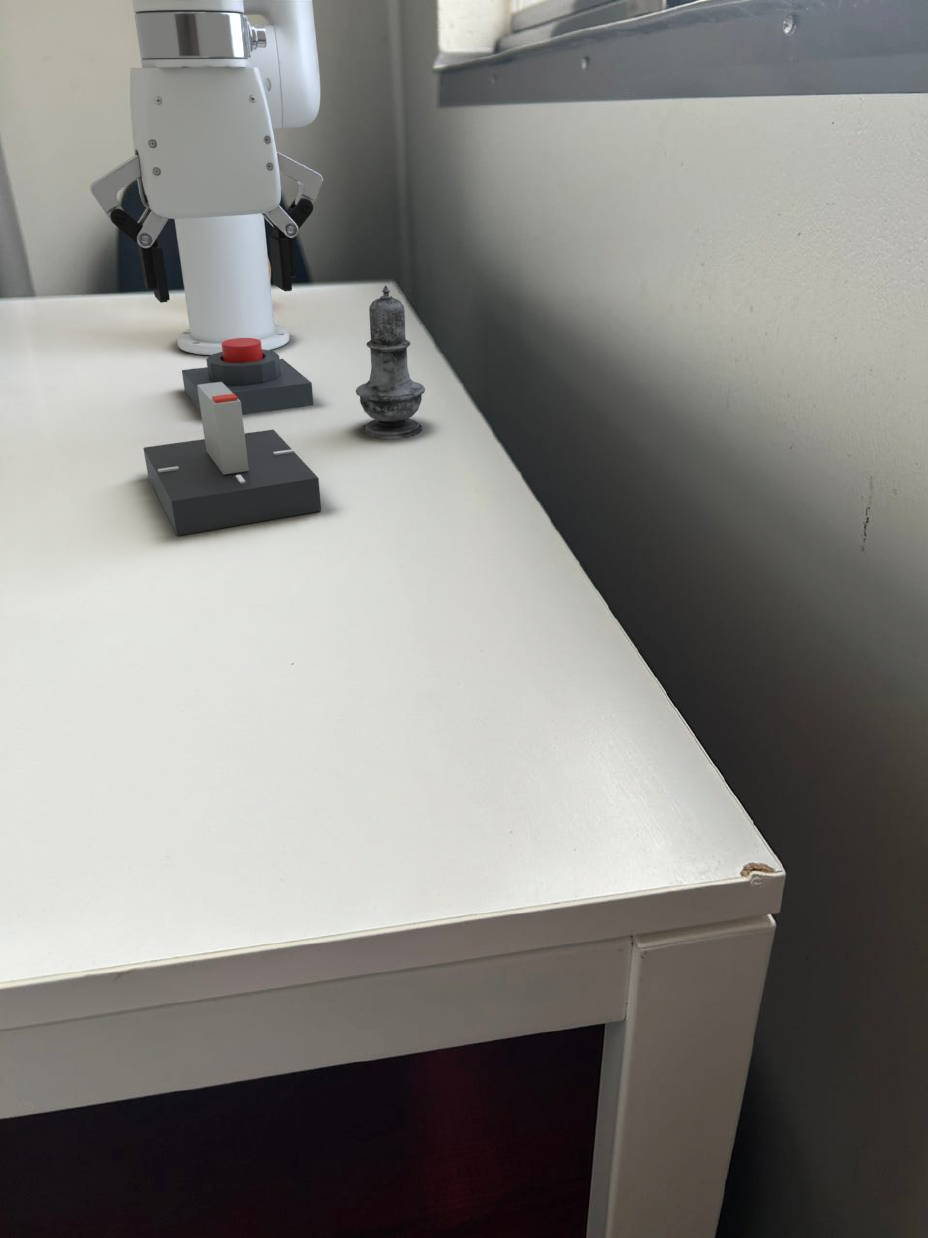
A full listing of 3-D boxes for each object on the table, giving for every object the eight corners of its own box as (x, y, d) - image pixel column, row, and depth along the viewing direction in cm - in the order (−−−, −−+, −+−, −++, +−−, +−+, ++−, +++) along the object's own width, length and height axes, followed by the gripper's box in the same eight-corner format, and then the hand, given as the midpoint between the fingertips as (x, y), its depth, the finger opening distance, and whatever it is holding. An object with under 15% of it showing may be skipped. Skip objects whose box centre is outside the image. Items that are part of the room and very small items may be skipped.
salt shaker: (417, 442, 82) (412, 293, 76) (349, 438, 83) (339, 291, 77) (433, 421, 87) (429, 280, 81) (369, 418, 88) (361, 278, 82)
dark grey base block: (148, 478, 75) (142, 445, 74) (276, 459, 79) (273, 427, 77) (177, 536, 66) (170, 498, 64) (321, 511, 69) (318, 475, 68)
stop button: (220, 358, 93) (217, 339, 92) (257, 354, 94) (255, 335, 93) (228, 367, 90) (226, 348, 89) (267, 362, 91) (265, 343, 91)
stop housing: (184, 392, 96) (178, 351, 94) (284, 380, 100) (281, 340, 98) (205, 420, 88) (199, 375, 86) (313, 405, 92) (310, 362, 90)
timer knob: (206, 451, 73) (196, 381, 70) (230, 448, 73) (221, 378, 71) (223, 475, 68) (213, 400, 66) (249, 471, 69) (240, 397, 67)
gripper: (297, 45, 76) (315, 277, 84) (60, 45, 70) (104, 295, 78) (326, 43, 70) (342, 292, 78) (70, 43, 64) (117, 313, 72)
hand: (223, 293), depth 78 cm, fingers open, 9 cm apart
